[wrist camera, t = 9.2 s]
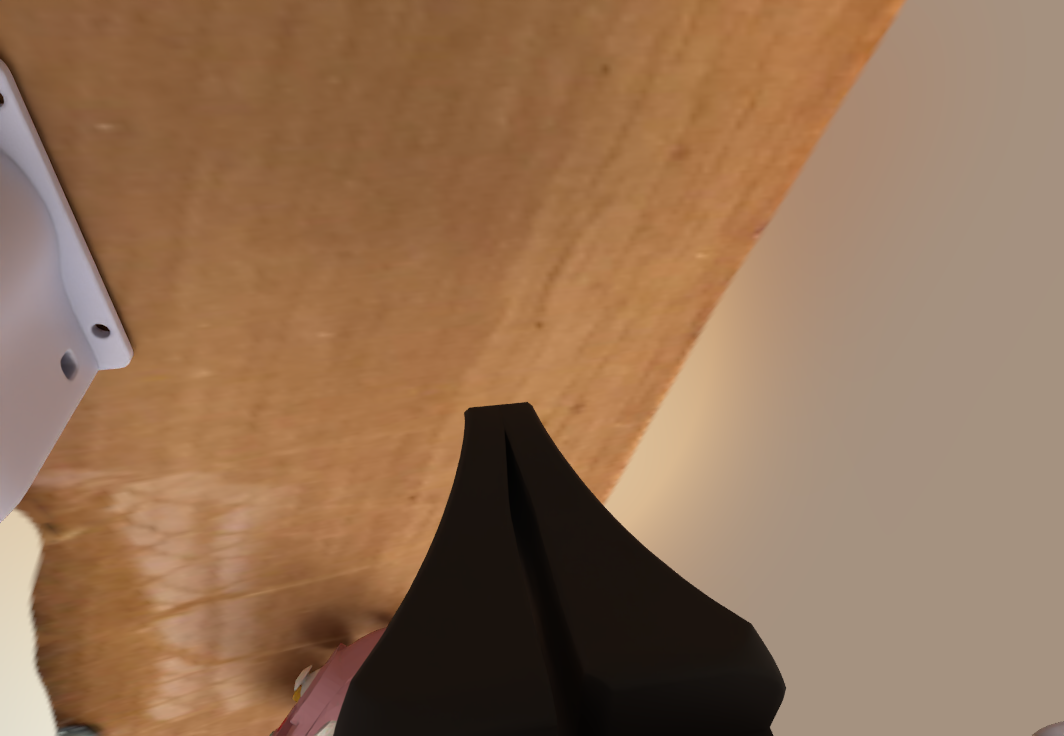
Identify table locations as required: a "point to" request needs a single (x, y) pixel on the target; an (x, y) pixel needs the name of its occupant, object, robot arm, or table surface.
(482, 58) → the table surface
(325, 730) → the video game controller
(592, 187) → the table surface
